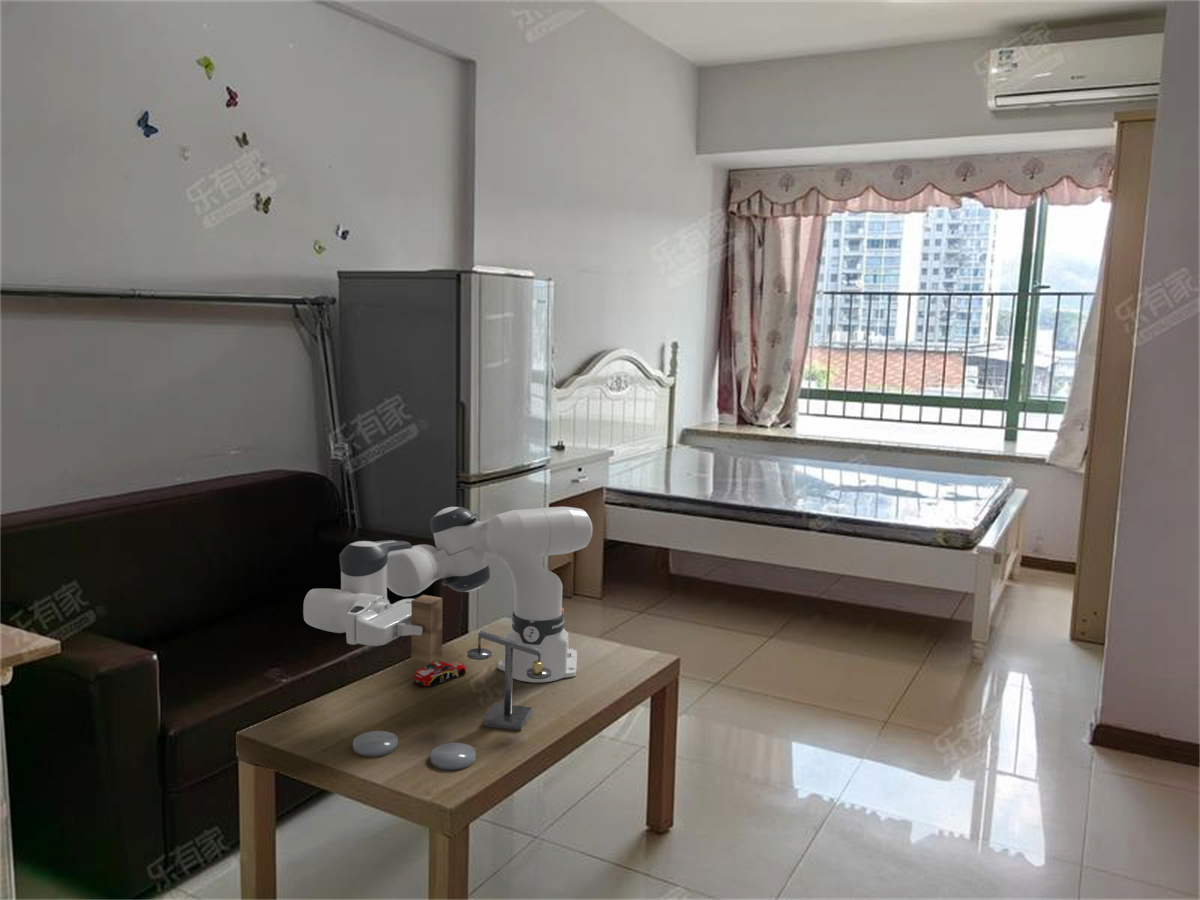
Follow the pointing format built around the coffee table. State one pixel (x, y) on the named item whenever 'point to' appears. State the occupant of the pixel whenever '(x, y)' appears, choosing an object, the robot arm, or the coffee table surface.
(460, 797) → the coffee table surface
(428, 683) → the race car
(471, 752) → the grey flat pebble
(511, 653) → the balance
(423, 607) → the pillar
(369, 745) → the grey oval dome
